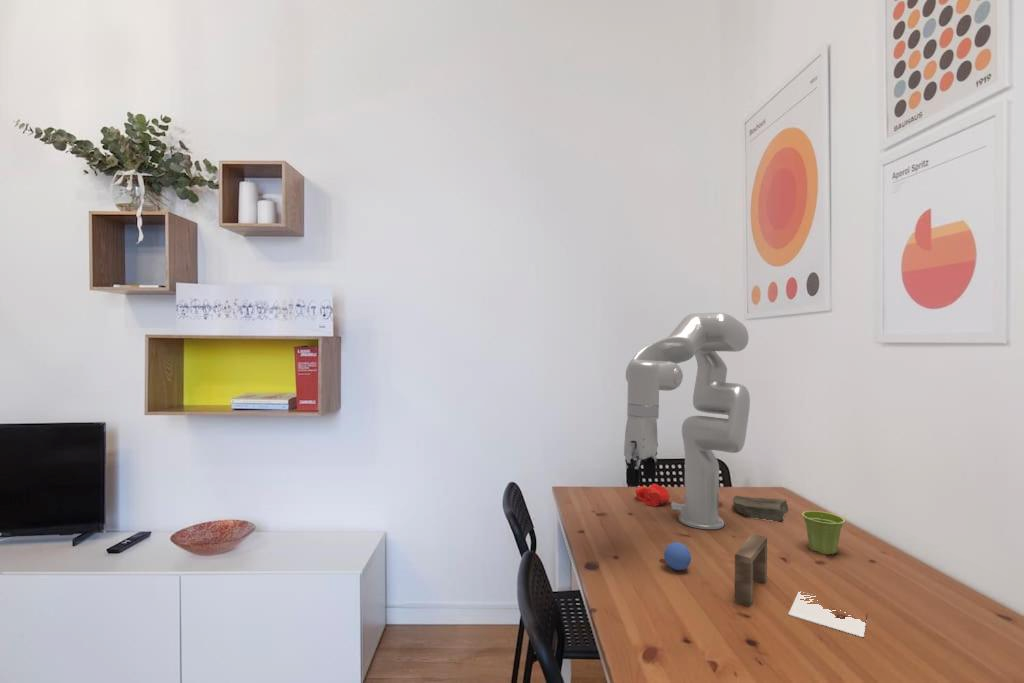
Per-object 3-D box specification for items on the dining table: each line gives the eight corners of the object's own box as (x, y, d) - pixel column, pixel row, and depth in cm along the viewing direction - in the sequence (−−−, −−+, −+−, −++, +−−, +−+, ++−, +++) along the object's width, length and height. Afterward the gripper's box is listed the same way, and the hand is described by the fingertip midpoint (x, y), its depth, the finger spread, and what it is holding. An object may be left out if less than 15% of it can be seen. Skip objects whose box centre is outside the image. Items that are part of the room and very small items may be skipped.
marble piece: (787, 511, 162) (787, 498, 162) (795, 526, 148) (795, 511, 148) (731, 504, 168) (731, 491, 168) (734, 518, 154) (734, 504, 154)
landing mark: (788, 615, 97) (788, 614, 97) (798, 592, 106) (798, 591, 106) (863, 638, 89) (863, 637, 89) (867, 611, 99) (867, 610, 99)
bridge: (734, 601, 101) (734, 554, 102) (752, 576, 113) (752, 533, 113) (750, 606, 100) (750, 558, 100) (766, 580, 111) (767, 536, 111)
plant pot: (851, 559, 123) (851, 524, 124) (809, 555, 125) (810, 521, 125) (835, 545, 133) (835, 512, 133) (796, 541, 135) (796, 509, 135)
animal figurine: (670, 496, 176) (670, 482, 176) (670, 509, 161) (670, 493, 161) (636, 493, 179) (636, 479, 179) (633, 504, 165) (634, 489, 165)
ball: (659, 569, 116) (660, 543, 116) (669, 561, 121) (669, 536, 121) (685, 577, 112) (686, 550, 112) (694, 568, 117) (694, 542, 117)
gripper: (642, 407, 132) (641, 472, 132) (613, 412, 118) (611, 485, 118) (670, 410, 127) (669, 477, 127) (642, 415, 114) (641, 491, 113)
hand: (641, 481), depth 122 cm, fingers open, 9 cm apart
